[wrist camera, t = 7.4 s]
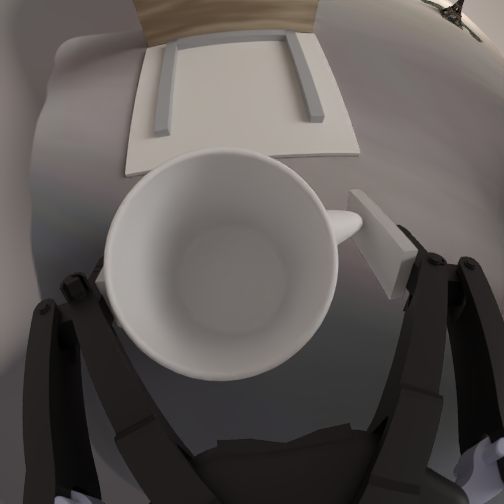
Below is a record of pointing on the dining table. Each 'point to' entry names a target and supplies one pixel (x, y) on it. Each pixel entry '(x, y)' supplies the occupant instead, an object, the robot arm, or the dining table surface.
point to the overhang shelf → (221, 17)
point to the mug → (223, 263)
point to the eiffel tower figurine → (453, 14)
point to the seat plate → (238, 99)
